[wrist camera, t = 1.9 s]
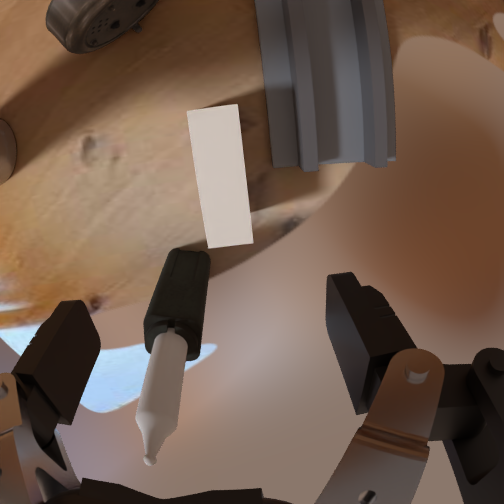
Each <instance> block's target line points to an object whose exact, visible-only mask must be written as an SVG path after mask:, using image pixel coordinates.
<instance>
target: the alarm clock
mask: <svg viewBox="0 0 504 504" xmlns="http://www.w3.org/2000/svg"><path fill="white" fill-rule="evenodd" d="M158 1H159V0H52V1H51V3H50V5H49V7H48V10H47V14H46V27H47V29H48V30H49V31H50V32H51V33H52V34H53V35H54V36H55V37H56V38H57V39H58V40H59V42H60V43H61V44H62V45H63V46H64V47H65V48H66V49H67V50H68V51H69V52H71V53H76V54H83V53H88V52H92V51H95V50H97V49H100V48H102V47H104V46H106V45H107V44H109V43H111V42H112V41H114V40H116V39H117V38H119V37H120V36H121V35H123V34H124V33H125V32H127V31H128V30H129V29H131V28H132V29H133V30H135V31H136V32H138V33H139V32H141V31H142V28H141V27H140V26H139V25H138V22H139V21H140V20H141V19H142V18H143V17H144V16H145V15H146V14H147V13H148V12H149V11H150V10H151V9H152V8H153V7H154V6H155V5H156V3H157V2H158Z"/></svg>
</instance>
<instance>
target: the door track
mask: <svg viewBox="0 0 504 504" xmlns="http://www.w3.org/2000/svg"><path fill="white" fill-rule="evenodd" d="M254 1H255V9H256V17H257V25H258V33H259V41H260V50H261V58H262V67H263V76H264V85H265V95H266V104H267V114H268V124H269V134H270V145H271V155H272V166H273V168H281V167H292V166H299V167H300V168H301V169H302V170H303V171H304V172H310V171H319V169H318V164H332V163H350V162H365V163H368V164H369V165H371V166H373V167H375V168H377V167H387V161H396V131H395V130H396V128H395V102H394V87H393V86H394V85H393V73H392V62H391V53H390V44H389V36H388V29H387V22H386V16H385V10H384V4H383V0H254Z"/></svg>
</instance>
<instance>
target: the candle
mask: <svg viewBox="0 0 504 504" xmlns="http://www.w3.org/2000/svg"><path fill="white" fill-rule="evenodd" d="M209 270H210V257H209V255H208V254H207V253H205V252H203V251H200V252H192V251H184V250H180V249H179V248H176V249H173V250H171V251H170V252H169V254H168V257H167V259H166V262H165V264H164V267H163V269H162V272H161V275H160V277H159V280H158V283H157V285H156V288H155V291H154V293H153V296H152V299H151V302H150V304H149V307H148V310H147V313H146V316H145V319H144V339H145V348H146V350H147V352H148V353H150V354H151V356H150V359H149V363H148V367H147V371H146V375H145V379H144V383H143V387H142V391H141V395H140V399H139V404H138V408H137V412H136V422H137V424H138V426H139V428H140V430H141V432H142V435H143V441H144V447H145V452H146V455H145V456H144V459H143V460H144V462H145V463H146V464H147V465H149V466H152V465H154V464H155V463H156V461H157V460H156V455H157V453H158V451H159V449H160V448H161V446H162V444H163V442H164V440H165V439H166V438H167V437H168V436H169V435H171V434H172V433H173V432H174V431H175V430H176V427H177V422H178V414H179V406H180V398H181V390H182V383H183V376H184V369H185V362H186V361H193V360H196V359H197V358H198V357H199V355H200V349H201V340H202V331H203V322H204V313H205V304H206V296H207V287H208V280H209Z"/></svg>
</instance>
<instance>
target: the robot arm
mask: <svg viewBox="0 0 504 504" xmlns="http://www.w3.org/2000/svg"><path fill="white" fill-rule="evenodd" d="M15 162H16V142H15V138H14V135H13V132H12V130H11V128H10V127H9V125H8V124H7V123H6V122H5V121H3V120H1V119H0V185H1V184H3V183H4V182H6V181H7V180H8V178H9V177H10V176H11V174H12V172H13V169H14V166H15ZM326 326H327V331H328V334H329V338H330V340H331V343H332V346H333V349H334V351H335V354H336V357H337V360H338V363H339V366H340V368H341V371H342V374H343V377H344V379H345V383H346V386H347V388H348V392H349V394H350V398H351V400H352V403H353V406H354V409H355V412H356V415H359V414H364V413H368V414H367V416H366V418H365V421H364V422H363V424H362V426H361V427H359V429H358V430H357V432H356V433H355V435H354V437H353V439H352V441H351V443H350V444H349V446H348V448H347V450H346V452H345V453H344V456H343V457H342V459H341V461H340V463H339V464H338V466H337V468H336V470H335V471H334V473H333V475H332V476H331V478H330V480H329V481H328V483H327V484H326V486H325V488H324V489H323V491H322V493H321V494H320V496H319V497H318V499H317V500H316V502H315V503H314V504H411V502H412V500H413V498H414V495H415V493H416V490H417V488H418V485H419V482H420V479H421V477H422V474H423V471H424V468H425V466H426V463H427V460H428V456H429V451H430V448H429V446H427V443H428V441H439V440H442V441H443V444H444V447H445V449H446V452H447V455H448V457H449V460H450V463H451V466H452V468H453V471H454V474H455V477H456V480H457V483H458V486H459V489H460V492H461V496H462V498H463V502H464V504H504V350H501V349H498V348H486V349H483V350H481V351H480V352H478V353H477V354H476V356H475V358H474V360H473V362H472V364H455V365H454V364H452V365H448V364H442V362H441V361H440V359H439V358H438V357H437V356H435V355H434V354H432V353H431V352H429V351H426V350H423V349H417V347H416V345H415V344H414V342H413V341H412V339H411V337H410V336H409V334H408V333H407V331H406V329H405V328H404V326H403V325H402V323H401V322H400V320H399V318H398V317H397V316H395V312H394V311H393V309H392V308H391V307H390V306H389V303H388V302H387V300H386V299H385V297H384V296H383V294H382V293H380V292H379V291H377V290H376V289H374V288H373V287H371V286H362V287H361V285H360V283H359V282H358V280H357V279H356V277H355V275H354V274H353V273H352V272H346V273H339V274H331V275H328V276H327V288H326ZM29 344H30V345H28V346H27V348H26V349H25V351H24V352H23V354H22V356H21V357H20V359H19V361H18V362H17V364H16V366H15V367H14V369H13V371H12V372H11V374H10V373H1V374H0V504H292V503H289V502H286V501H281V500H277V499H271V498H264V496H263V493H262V489H261V488H256V489H241V490H212V491H207V492H202V493H198V494H193V495H187V496H182V497H176V498H170V499H159V498H155V497H153V496H150V495H147V494H144V493H141V492H138V491H135V490H133V489H131V488H128V487H125V486H123V485H120V484H115V483H109V482H103V481H97V480H92V479H87V478H82V483H80V482H79V480H78V479H77V477H76V475H75V473H74V471H73V468H72V466H71V463H70V461H69V458H68V455H67V453H66V450H65V447H64V445H63V442H62V439H61V436H60V434H59V432H58V431H57V430H56V429H55V428H56V426H57V423H59V424H65V425H71V424H72V422H73V419H74V416H75V413H76V410H77V408H78V405H79V402H80V400H81V397H82V395H83V392H84V389H85V387H86V384H87V382H88V379H89V377H90V374H91V372H92V369H93V367H94V365H95V362H96V360H97V357H98V355H99V353H100V347H101V342H100V337H99V334H98V332H97V330H96V328H95V326H94V323H93V321H92V319H91V317H90V315H89V312H88V310H87V308H86V305H85V304H84V302H83V301H81V300H70V301H61V302H60V303H59V304H58V306H57V307H56V309H55V310H54V312H53V313H52V315H51V316H50V318H48V319H47V320H46V321H45V322H44V323H43V324H42V325H41V326H40V327H39V329H38V330H37V332H36V334H35V337H33V338H32V340H31V341H30V343H29Z"/></svg>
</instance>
